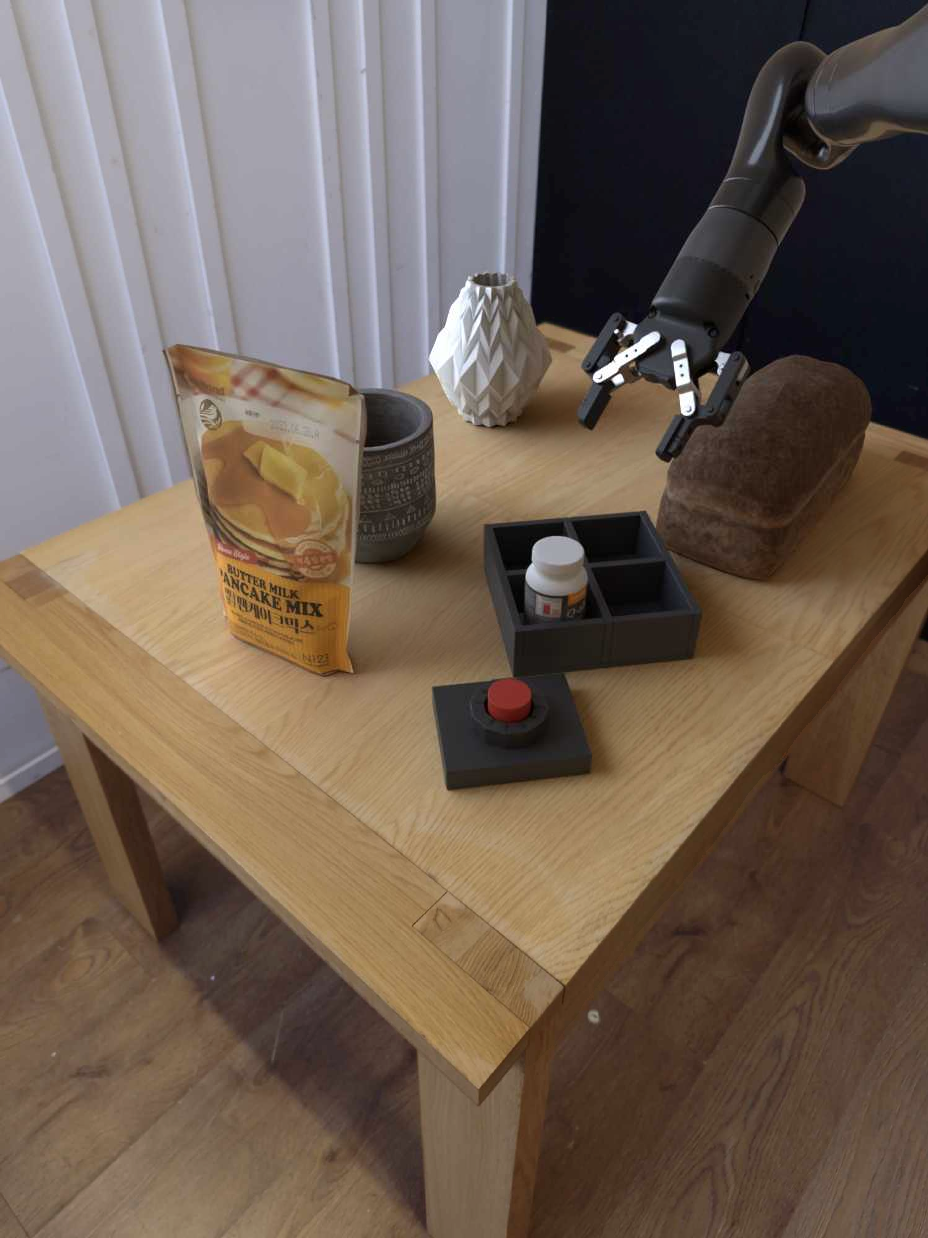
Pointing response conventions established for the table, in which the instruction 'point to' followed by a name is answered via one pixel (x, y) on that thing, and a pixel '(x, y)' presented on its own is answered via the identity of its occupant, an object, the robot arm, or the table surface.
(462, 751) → the block
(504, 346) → the vase
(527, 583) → the pill bottle
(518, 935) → the table surface
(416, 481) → the planter
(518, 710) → the button
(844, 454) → the bread
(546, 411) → the table surface
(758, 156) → the robot arm
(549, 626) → the black divided tray
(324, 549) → the pancake mix bag
